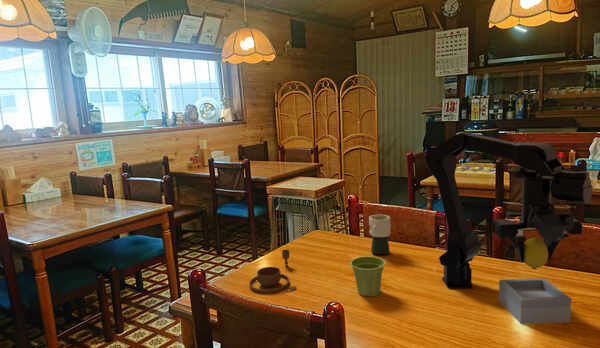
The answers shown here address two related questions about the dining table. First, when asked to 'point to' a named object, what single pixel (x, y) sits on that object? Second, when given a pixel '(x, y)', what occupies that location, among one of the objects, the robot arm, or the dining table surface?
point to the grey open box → (534, 301)
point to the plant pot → (368, 274)
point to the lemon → (535, 253)
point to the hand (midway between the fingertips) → (534, 261)
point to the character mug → (379, 233)
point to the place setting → (271, 277)
